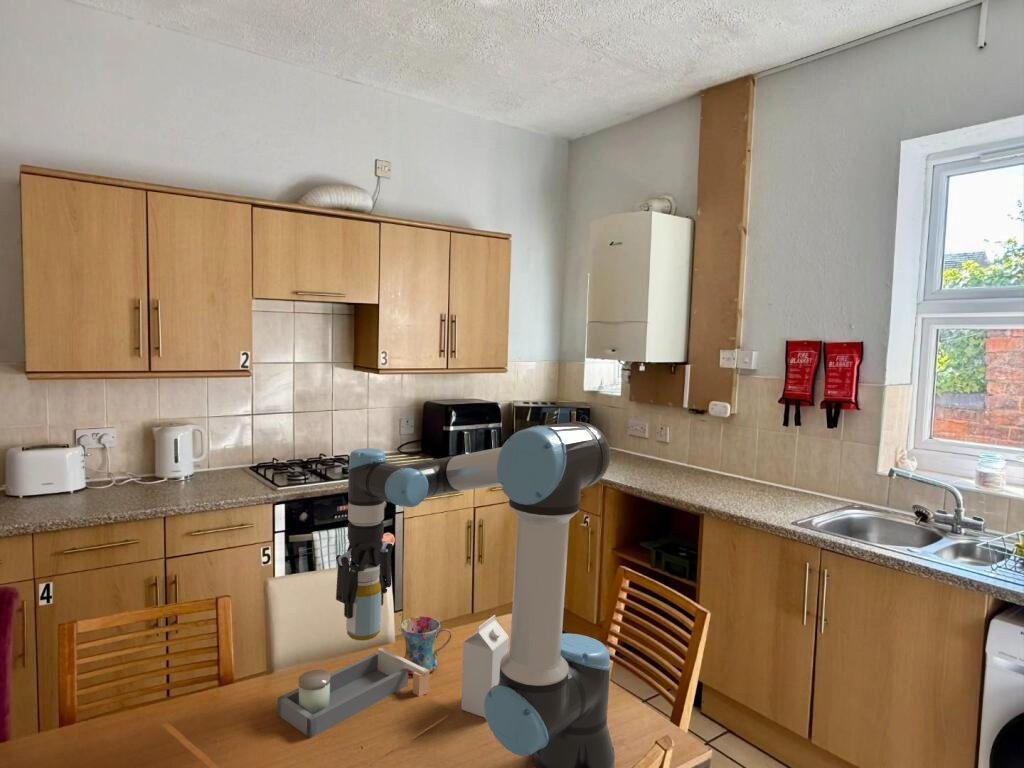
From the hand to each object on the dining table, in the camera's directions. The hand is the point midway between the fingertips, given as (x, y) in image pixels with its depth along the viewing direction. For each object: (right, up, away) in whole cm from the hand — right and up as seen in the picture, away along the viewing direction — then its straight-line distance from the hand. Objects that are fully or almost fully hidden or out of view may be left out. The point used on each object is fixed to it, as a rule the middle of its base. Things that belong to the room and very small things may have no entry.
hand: (363, 625), depth 139 cm
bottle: (0, -2, 0) cm, 2 cm away
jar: (-8, -15, -9) cm, 19 cm away
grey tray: (-3, -16, -2) cm, 16 cm away
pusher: (+7, -15, +5) cm, 17 cm away
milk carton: (+26, -17, -2) cm, 31 cm away
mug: (+11, -15, +13) cm, 23 cm away
